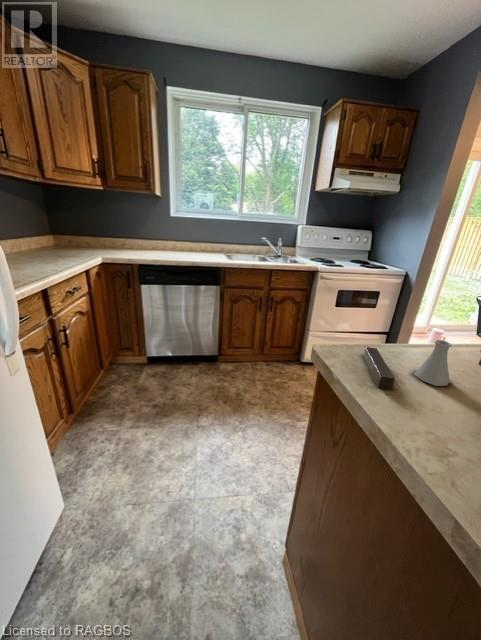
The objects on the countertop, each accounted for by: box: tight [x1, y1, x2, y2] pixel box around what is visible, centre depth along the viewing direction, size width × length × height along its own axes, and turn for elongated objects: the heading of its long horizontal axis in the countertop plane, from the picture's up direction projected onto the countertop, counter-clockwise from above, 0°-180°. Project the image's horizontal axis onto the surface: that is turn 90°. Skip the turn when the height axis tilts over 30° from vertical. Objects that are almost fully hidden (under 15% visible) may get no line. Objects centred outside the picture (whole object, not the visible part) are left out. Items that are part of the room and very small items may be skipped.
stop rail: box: [363, 346, 396, 390], centre depth 70 cm, size 3×16×3 cm, turn 168°
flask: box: [414, 339, 453, 387], centre depth 66 cm, size 7×7×10 cm
